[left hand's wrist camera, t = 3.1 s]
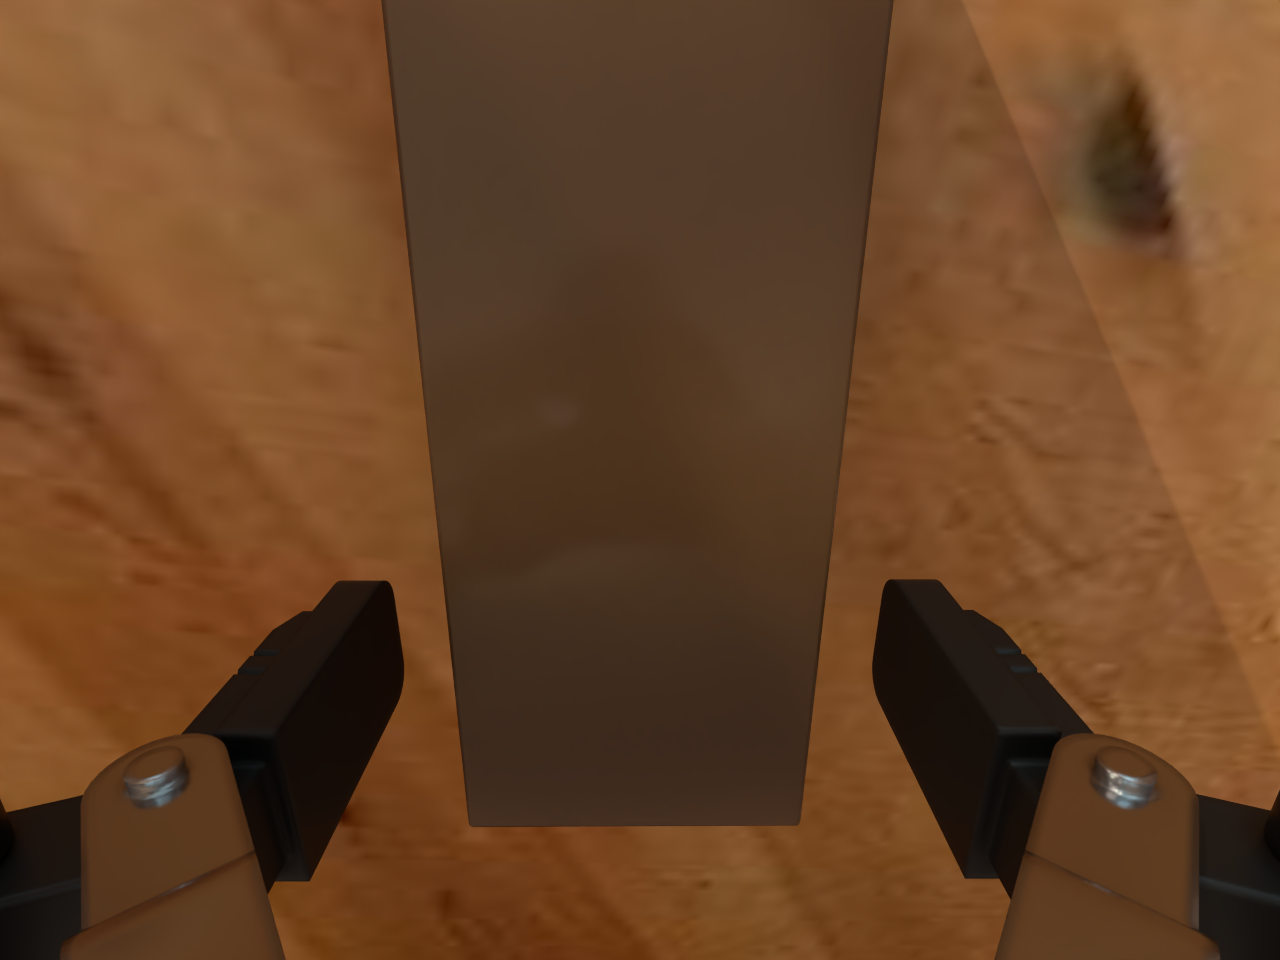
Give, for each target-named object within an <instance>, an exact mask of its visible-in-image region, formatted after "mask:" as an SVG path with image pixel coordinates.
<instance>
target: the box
mask: <svg viewBox="0 0 1280 960" xmlns="http://www.w3.org/2000/svg"><path fill="white" fill-rule="evenodd" d="M381 1H382V11H383V20H384V30H385V39H386V48H387V58H388V67H389V77H390V86H391V95H392V105H393V114H394V124H395V133H396V142H397V152H398V161H399V171H400V180H401V189H402V199H403V208H404V218H405V227H406V236H407V246H408V255H409V265H410V274H411V283H412V293H413V302H414V312H415V321H416V330H417V340H418V349H419V359H420V368H421V378H422V387H423V396H424V406H425V415H426V425H427V434H428V443H429V453H430V462H431V472H432V481H433V490H434V500H435V509H436V519H437V528H438V537H439V547H440V556H441V566H442V575H443V584H444V594H445V603H446V613H447V622H448V631H449V641H450V650H451V660H452V669H453V678H454V688H455V697H456V707H457V716H458V725H459V735H460V744H461V754H462V763H463V772H464V782H465V791H466V801H467V810H468V819H469V824H470V826H472V827H551V826H775V825H798V824H799V823H800V818H801V809H802V800H803V791H804V783H805V774H806V765H807V756H808V747H809V739H810V730H811V721H812V712H813V703H814V695H815V686H816V677H817V668H818V660H819V651H820V642H821V633H822V624H823V616H824V607H825V598H826V589H827V580H828V572H829V563H830V554H831V545H832V536H833V528H834V519H835V510H836V501H837V492H838V484H839V475H840V466H841V457H842V448H843V440H844V431H845V422H846V413H847V404H848V396H849V387H850V378H851V369H852V360H853V352H854V343H855V334H856V325H857V316H858V308H859V299H860V290H861V281H862V273H863V264H864V255H865V246H866V237H867V229H868V220H869V211H870V202H871V193H872V185H873V176H874V167H875V158H876V149H877V141H878V132H879V123H880V114H881V105H882V97H883V88H884V79H885V70H886V61H887V53H888V44H889V35H890V26H891V17H892V9H893V0H381Z"/></svg>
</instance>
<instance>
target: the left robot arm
mask: <svg viewBox="0 0 1280 960" xmlns="http://www.w3.org/2000/svg"><path fill="white" fill-rule="evenodd" d="M872 674H873V683H874V689H875V693H876V696H877V699H878V701H879V703H880V705H881V707H882V709H883V712H884V714H885V716H886V718H887V720H888V722H889V724H890V726H891V728H892V730H893V732H894V734H895V736H896V738H897V740H898V742H899V744H900V746H901V748H902V750H903V752H904V755H905V757H906V759H907V761H908V763H909V765H910V767H911V769H912V771H913V773H914V775H915V777H916V779H917V781H918V783H919V785H920V787H921V789H922V791H923V793H924V795H925V798H926V800H927V802H928V804H929V806H930V808H931V810H932V812H933V814H934V816H935V818H936V820H937V822H938V824H939V826H940V828H941V830H942V832H943V834H944V836H945V838H946V841H947V843H948V845H949V847H950V849H951V851H952V853H953V855H954V857H955V859H956V861H957V863H958V865H959V867H960V869H961V871H962V873H963V875H964V877H965V879H1000V881H1001V883H1002V884H1003V886H1004V888H1005V890H1006V892H1007V894H1008V896H1009V897H1010V899H1011V902H1010V906H1009V909H1008V913H1007V916H1006V920H1005V924H1004V927H1003V931H1002V934H1001V938H1000V942H999V945H998V949H997V952H996V956H995V960H1280V791H1279V793H1278V795H1277V798H1276V800H1275V802H1274V804H1273V807H1272V809H1271V811H1270V810H1265V809H1261V808H1256V807H1252V806H1247V805H1243V804H1238V803H1234V802H1229V801H1225V800H1221V799H1216V798H1212V797H1207V796H1203V795H1198V794H1196V793H1195V790H1194V789H1193V787H1192V786H1191V784H1190V783H1189V782H1188V781H1187V780H1186V778H1185V777H1184V776H1183V775H1182V774H1181V773H1180V772H1179V771H1177V770H1176V769H1175V768H1174V767H1173V766H1172V765H1170V764H1169V763H1167V762H1166V761H1165V760H1163V759H1162V758H1160V757H1158V756H1157V755H1155V754H1153V753H1152V752H1150V751H1148V750H1146V749H1144V748H1142V747H1140V746H1137V745H1135V744H1132V743H1130V742H1127V741H1124V740H1121V739H1118V738H1115V737H1110V736H1106V735H1100V734H1094V733H1093V732H1092V731H1091V730H1090V729H1089V727H1088V726H1087V725H1086V724H1085V723H1084V722H1083V720H1082V719H1081V718H1080V717H1079V716H1078V715H1077V714H1076V712H1075V711H1074V710H1073V709H1072V708H1071V707H1070V706H1069V704H1068V703H1067V702H1066V701H1065V700H1064V699H1063V698H1062V696H1061V695H1060V694H1059V693H1058V692H1057V691H1056V689H1055V688H1054V687H1053V686H1052V685H1051V684H1050V683H1049V681H1048V680H1047V679H1046V678H1045V677H1044V676H1043V675H1042V673H1037V668H1036V667H1035V665H1034V664H1033V663H1032V662H1031V661H1030V660H1029V659H1028V657H1027V656H1026V655H1025V654H1021V649H1020V648H1019V647H1018V646H1017V645H1016V644H1015V642H1014V641H1013V640H1012V639H1011V638H1010V637H1009V636H1008V634H1007V633H1006V632H1005V631H1004V630H1003V629H1002V628H1001V627H999V626H998V625H996V624H994V623H993V622H991V621H990V620H988V619H986V618H985V617H983V616H982V615H980V614H979V613H977V612H975V611H974V610H963V609H962V608H961V607H960V605H959V604H958V603H957V602H956V601H955V599H954V598H953V597H952V596H951V594H950V593H949V592H948V591H947V589H946V588H945V587H944V586H943V585H942V583H941V582H940V581H938V580H935V579H891V580H888V581H887V582H886V584H885V586H884V589H883V593H882V599H881V606H880V613H879V620H878V627H877V634H876V641H875V648H874V654H873V663H872ZM403 680H404V660H403V653H402V646H401V639H400V632H399V626H398V619H397V612H396V605H395V599H394V593H393V589H392V587H391V585H390V583H389V582H388V581H338V582H336V583H335V584H334V586H333V587H332V588H331V589H330V590H329V592H328V593H327V594H326V595H325V597H324V598H323V599H322V600H321V601H320V603H319V604H318V605H317V606H316V607H315V609H314V610H313V611H302V612H301V613H299V614H298V615H296V616H294V617H293V618H291V619H290V620H288V621H286V622H285V623H283V624H282V625H280V626H279V627H277V628H275V629H274V630H273V631H272V632H271V633H270V634H269V635H268V636H267V637H266V639H265V640H264V641H263V642H262V643H261V644H260V645H259V647H258V648H257V649H256V650H255V651H254V656H250V657H249V658H248V659H247V660H246V661H245V662H244V664H243V665H242V666H241V667H240V668H239V669H238V674H237V675H233V676H232V677H231V678H230V680H229V681H228V682H227V683H226V684H225V685H224V686H223V687H222V689H221V690H220V691H219V692H218V693H217V694H216V695H215V697H214V698H213V699H212V700H211V701H210V702H209V703H208V705H207V706H206V707H205V708H204V709H203V710H202V711H201V712H200V714H199V715H198V716H197V717H196V718H195V719H194V720H193V722H192V723H191V724H190V725H189V726H188V727H187V728H186V730H185V731H184V732H183V733H182V734H180V735H174V736H170V737H165V738H162V739H159V740H156V741H153V742H150V743H148V744H145V745H143V746H140V747H138V748H136V749H134V750H132V751H130V752H128V753H127V754H125V755H123V756H122V757H120V758H118V759H117V760H115V761H114V762H113V763H111V764H110V765H108V766H107V767H106V768H105V769H104V770H103V771H101V772H100V773H99V774H98V775H97V776H96V777H95V778H94V780H93V781H92V782H91V783H90V784H89V786H88V787H87V789H86V790H85V793H84V795H81V796H77V797H73V798H69V799H64V800H60V801H56V802H51V803H47V804H42V805H38V806H33V807H29V808H24V809H20V810H16V811H11V812H7V813H6V811H5V809H4V807H3V804H2V802H1V800H0V960H285V956H284V952H283V949H282V945H281V942H280V938H279V934H278V931H277V927H276V924H275V920H274V916H273V913H272V909H271V906H270V902H269V898H268V893H269V891H270V889H271V888H272V886H273V884H274V882H275V881H310V879H311V877H312V875H313V873H314V871H315V869H316V867H317V865H318V863H319V861H320V859H321V857H322V855H323V853H324V851H325V849H326V847H327V845H328V843H329V841H330V839H331V837H332V835H333V833H334V831H335V829H336V827H337V825H338V823H339V821H340V819H341V817H342V815H343V813H344V811H345V809H346V807H347V805H348V803H349V801H350V799H351V797H352V794H353V792H354V790H355V788H356V786H357V784H358V782H359V780H360V778H361V776H362V774H363V772H364V770H365V768H366V766H367V764H368V762H369V760H370V758H371V756H372V754H373V752H374V750H375V748H376V746H377V744H378V742H379V740H380V738H381V736H382V734H383V732H384V730H385V728H386V726H387V724H388V722H389V720H390V718H391V716H392V714H393V712H394V709H395V707H396V705H397V703H398V701H399V699H400V696H401V692H402V687H403Z"/></svg>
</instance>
